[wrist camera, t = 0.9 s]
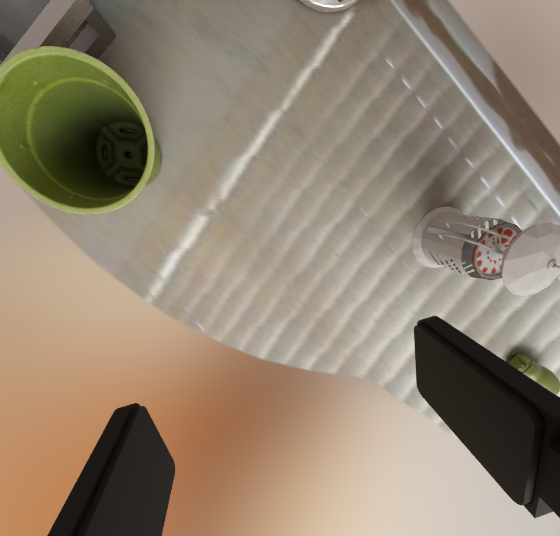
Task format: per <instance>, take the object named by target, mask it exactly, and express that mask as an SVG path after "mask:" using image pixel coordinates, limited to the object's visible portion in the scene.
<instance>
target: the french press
mask: <svg viewBox="0 0 560 536" xmlns="http://www.w3.org/2000/svg"><path fill="white" fill-rule="evenodd" d="M469 217H472V218H469ZM476 218H480V219H476ZM471 219H472V220H471ZM493 220H497V221H498V224H497V225H495V226H494V224H493ZM485 221H489V230H488V229H485ZM480 224H481V227H478V226H479V225H480ZM478 229H480V230H481V237H480V238H479V239H478ZM473 230H474V238H471V232H472V231H473ZM412 250H413V253H414V255H415V257H416V260H418V261H419V262H420V263H421V264H422V265H423V266H426V267H431V268H437V267H442V266H443V267H447V268H448V269H451V270H455V271H456V272H459V273H463V274H464V275H467V276H470V277H475V278H484V279H488V280H494V279H498V278H501V277H502V278H503V282H504V285H505V287H506V288H507V289H508V290H509V291H510V292H511V293H512V294H516V295H521V296H526V295H531V294H536V293H538V292H539V291H541V290H543V289H544V288H546V287H548V286H549V285H550V284H551V283H552V282H553V281H554V280H555V278H556V277H557V276H558V275H559V274H560V226H558V225H555V224H552V223H543V224H538V225H534V226H531V227H529V228H528V229H526V230H524V231H523V232H522V231H521V229H520V228H519V227H518V226H517V225H514V224H511V223H508V222H506V221H503V220H501V219H494V218H485V217H477V216H468V215H463V214H462V213H461V212H460V211H459V210H458V209H455V208H452V207H449V206H446V207H440V208H436V209H434V210H433V211H431V212H429V213H428V214H426V215H425V216H424V217H423V219H422V220H421V221H420V222H419V224H418V225H417V227H416V229H415V232H414V235H413V237H412ZM453 261H454V264H452V263H451V262H453ZM462 262H466V263H465V264H463V265H462ZM447 264H450V265H447ZM470 264H473V266H471V267H469V268H467V269H464V267H466V266H468V265H470ZM454 266H457V267H456V268H455V267H454ZM450 267H452V268H450ZM458 269H459V270H460V271H457V270H458ZM472 269H474V270H475V271H474V272H472V273H468V274H467V273H466V272H467V271H470V270H472Z"/></svg>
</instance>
